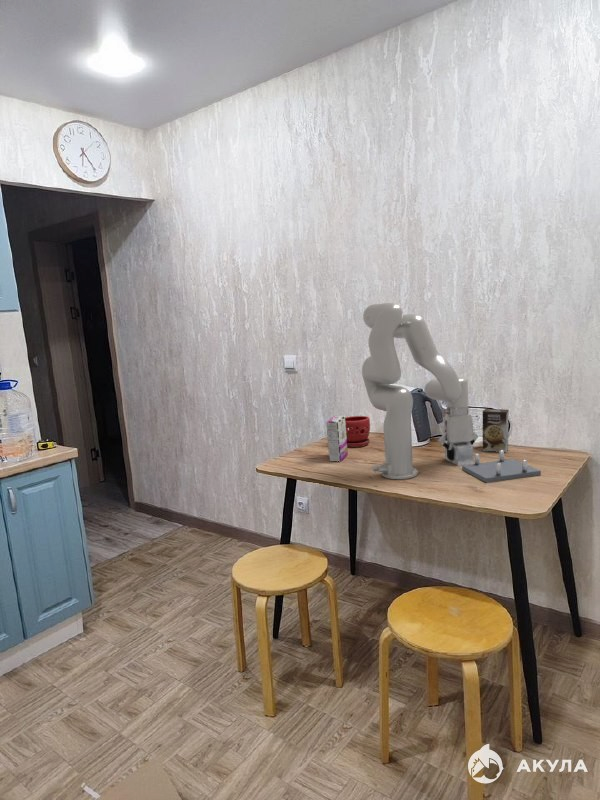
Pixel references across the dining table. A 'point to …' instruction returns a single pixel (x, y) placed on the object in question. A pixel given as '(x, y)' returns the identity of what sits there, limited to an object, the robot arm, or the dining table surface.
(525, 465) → the guide pins
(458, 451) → the block
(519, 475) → the pin board
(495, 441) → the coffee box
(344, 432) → the candy bar box
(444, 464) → the dining table surface
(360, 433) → the plant pot
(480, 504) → the dining table surface
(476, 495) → the dining table surface
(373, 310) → the robot arm
